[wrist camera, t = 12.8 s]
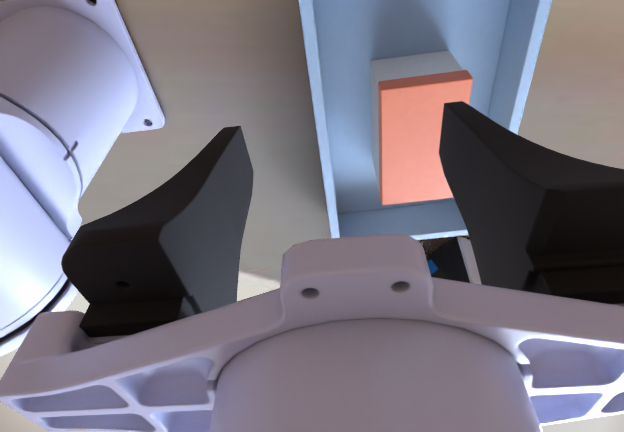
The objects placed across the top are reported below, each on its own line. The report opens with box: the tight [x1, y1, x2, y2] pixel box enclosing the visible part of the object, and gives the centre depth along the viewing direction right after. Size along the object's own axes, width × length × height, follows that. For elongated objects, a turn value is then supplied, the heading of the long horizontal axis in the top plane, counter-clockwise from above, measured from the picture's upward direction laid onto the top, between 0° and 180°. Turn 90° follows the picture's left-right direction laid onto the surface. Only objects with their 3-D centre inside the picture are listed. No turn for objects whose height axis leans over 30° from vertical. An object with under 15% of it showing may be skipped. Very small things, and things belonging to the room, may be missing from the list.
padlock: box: [426, 236, 482, 285], centre depth 30 cm, size 7×4×15 cm, turn 149°
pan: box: [298, 0, 552, 240], centre depth 24 cm, size 11×17×4 cm, turn 7°
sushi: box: [370, 50, 473, 205], centre depth 23 cm, size 4×8×4 cm, turn 7°
